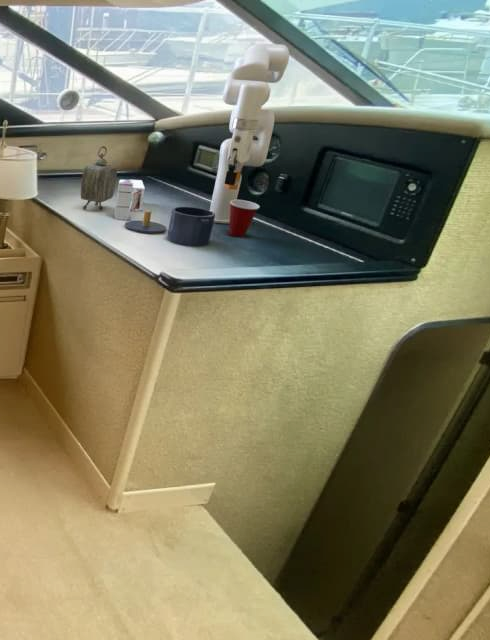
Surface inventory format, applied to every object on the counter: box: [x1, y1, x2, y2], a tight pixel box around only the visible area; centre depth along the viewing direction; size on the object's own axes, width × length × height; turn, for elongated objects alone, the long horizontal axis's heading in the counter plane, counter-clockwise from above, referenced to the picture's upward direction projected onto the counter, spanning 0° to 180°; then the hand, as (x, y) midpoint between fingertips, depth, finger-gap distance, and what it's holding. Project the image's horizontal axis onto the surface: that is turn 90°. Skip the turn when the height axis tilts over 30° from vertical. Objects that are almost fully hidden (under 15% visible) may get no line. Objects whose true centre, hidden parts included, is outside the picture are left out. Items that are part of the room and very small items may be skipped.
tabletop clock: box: [80, 145, 118, 211], centre depth 248 cm, size 14×9×25 cm, turn 144°
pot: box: [166, 206, 215, 247], centre depth 215 cm, size 15×20×10 cm
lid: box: [124, 209, 167, 234], centre depth 228 cm, size 16×16×7 cm
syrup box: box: [114, 179, 134, 221], centre depth 239 cm, size 6×6×14 cm
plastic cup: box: [228, 199, 261, 238], centre depth 225 cm, size 11×11×12 cm
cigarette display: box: [128, 179, 146, 212], centre depth 261 cm, size 20×6×9 cm, turn 172°
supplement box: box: [225, 160, 243, 189], centre depth 200 cm, size 3×3×10 cm
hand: (231, 182), depth 202 cm, fingers closed on supplement box, 4 cm apart
